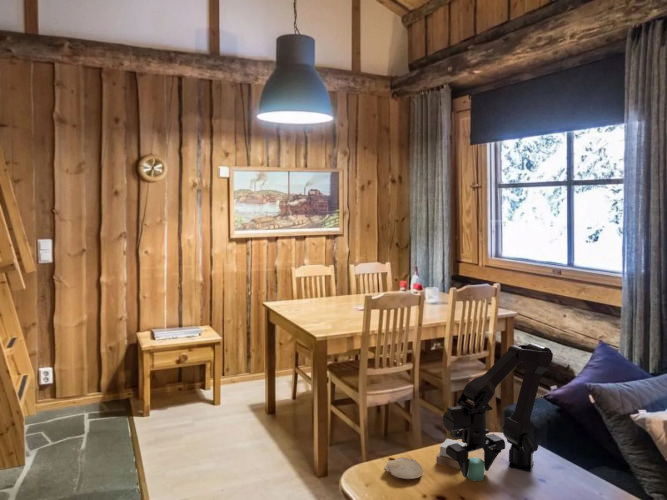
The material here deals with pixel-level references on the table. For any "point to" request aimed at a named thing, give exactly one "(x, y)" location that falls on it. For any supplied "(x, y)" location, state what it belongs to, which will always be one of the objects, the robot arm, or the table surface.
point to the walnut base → (447, 461)
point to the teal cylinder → (476, 469)
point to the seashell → (404, 468)
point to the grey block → (446, 443)
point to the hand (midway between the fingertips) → (475, 473)
